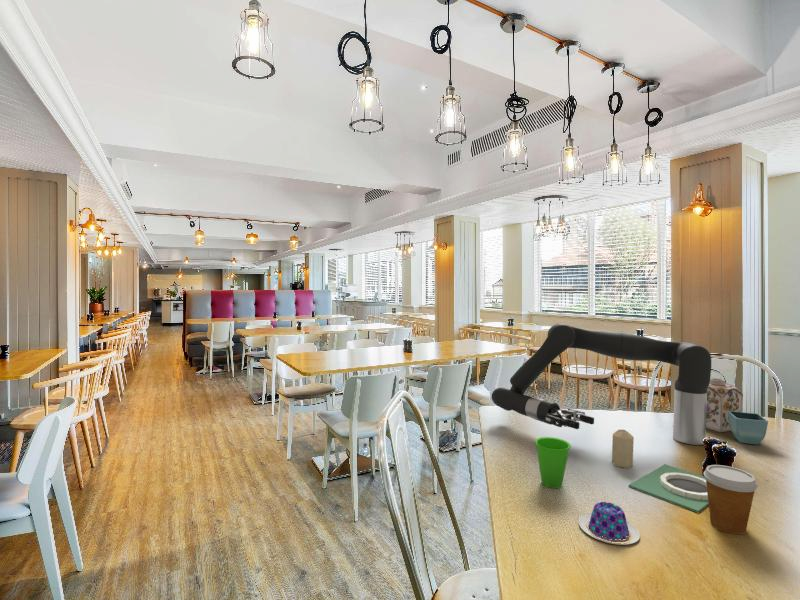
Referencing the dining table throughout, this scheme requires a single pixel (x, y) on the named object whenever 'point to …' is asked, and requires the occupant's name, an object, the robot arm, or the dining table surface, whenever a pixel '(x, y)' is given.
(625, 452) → the candle
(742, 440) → the flower pot
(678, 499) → the putting green
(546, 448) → the cup
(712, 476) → the disposable coffee cup
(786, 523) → the dining table surface
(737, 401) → the decorative jar
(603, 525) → the pudding
